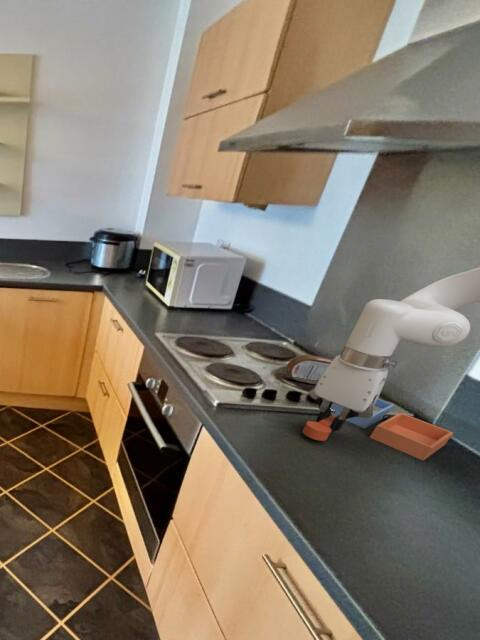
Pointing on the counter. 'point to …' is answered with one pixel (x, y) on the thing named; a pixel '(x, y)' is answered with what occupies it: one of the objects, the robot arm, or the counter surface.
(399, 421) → the terracotta bin
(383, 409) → the blue bin
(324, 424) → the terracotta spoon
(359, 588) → the counter surface
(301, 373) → the tin
